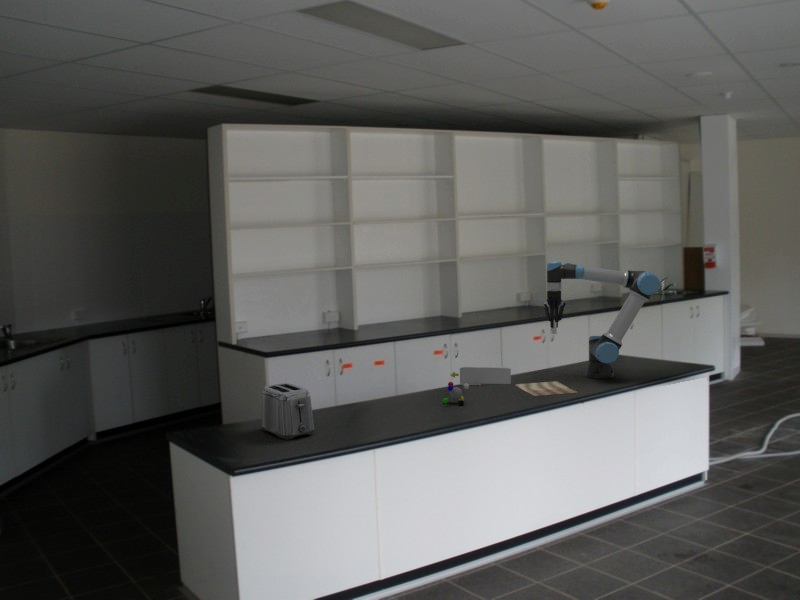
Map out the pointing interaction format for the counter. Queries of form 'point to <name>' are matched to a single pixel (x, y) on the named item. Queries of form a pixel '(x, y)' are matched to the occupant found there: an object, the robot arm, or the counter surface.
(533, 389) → the plank
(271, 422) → the toaster
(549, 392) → the floor strip
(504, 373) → the decorative sign
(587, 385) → the counter surface
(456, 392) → the molecular model
